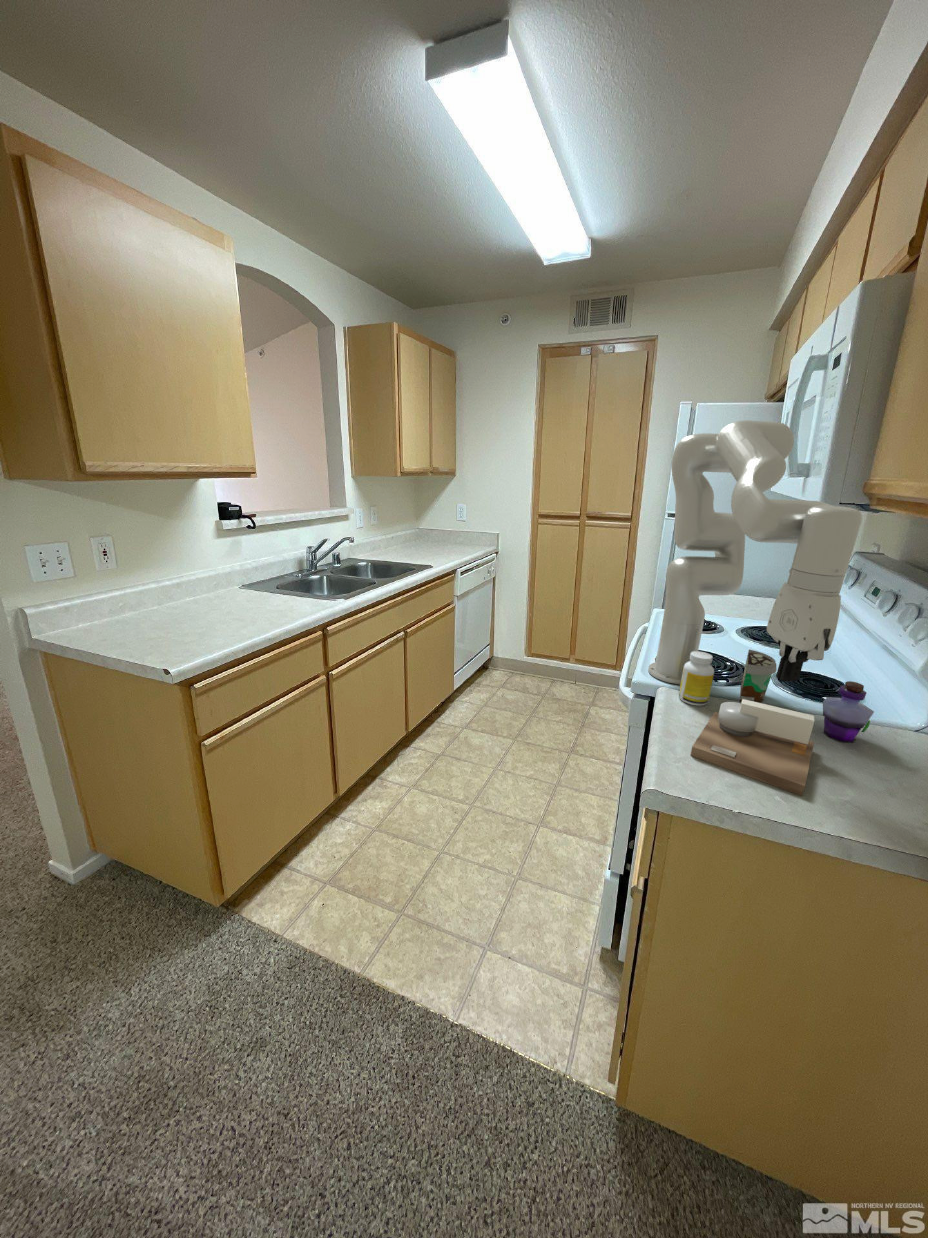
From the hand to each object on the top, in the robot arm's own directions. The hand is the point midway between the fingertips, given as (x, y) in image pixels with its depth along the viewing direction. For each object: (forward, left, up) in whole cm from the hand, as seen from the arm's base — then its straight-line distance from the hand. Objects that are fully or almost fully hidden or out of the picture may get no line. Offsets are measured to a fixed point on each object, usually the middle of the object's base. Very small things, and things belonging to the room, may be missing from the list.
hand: (786, 679), depth 88 cm
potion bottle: (-20, +11, -17) cm, 28 cm away
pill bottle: (-16, -17, -17) cm, 29 cm away
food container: (-28, -6, -17) cm, 33 cm away
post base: (0, -2, -17) cm, 17 cm away
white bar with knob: (-4, -2, -13) cm, 14 cm away
